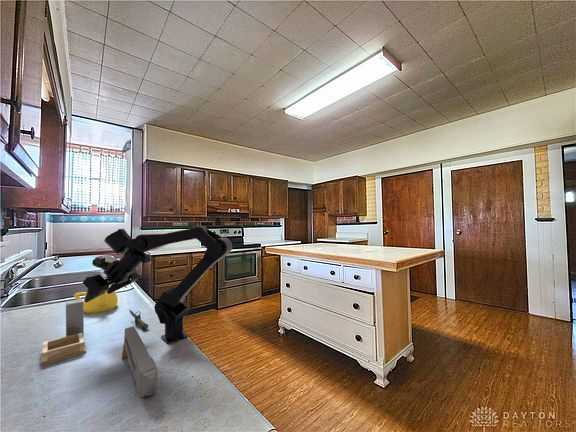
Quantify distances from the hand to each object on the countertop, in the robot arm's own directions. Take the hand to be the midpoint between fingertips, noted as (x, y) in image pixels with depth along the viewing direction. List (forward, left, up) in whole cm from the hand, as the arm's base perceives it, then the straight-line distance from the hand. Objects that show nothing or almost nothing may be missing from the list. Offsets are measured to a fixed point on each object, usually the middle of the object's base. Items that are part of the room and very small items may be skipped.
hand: (97, 297), depth 85 cm
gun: (-34, -4, -14) cm, 36 cm away
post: (+6, +6, -13) cm, 16 cm away
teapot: (+36, -3, -14) cm, 38 cm away
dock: (-5, +9, -13) cm, 17 cm away
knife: (+3, -12, -14) cm, 19 cm away
